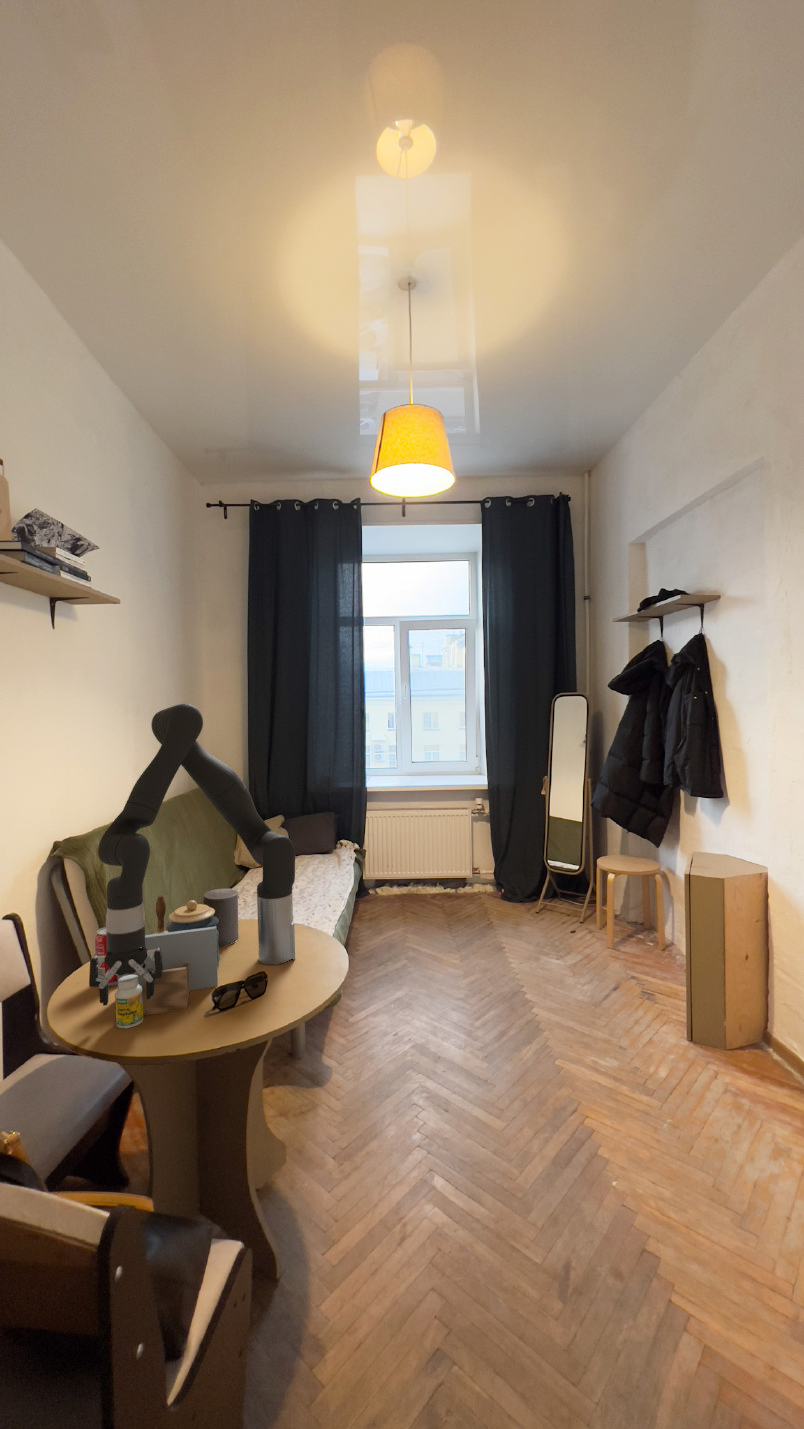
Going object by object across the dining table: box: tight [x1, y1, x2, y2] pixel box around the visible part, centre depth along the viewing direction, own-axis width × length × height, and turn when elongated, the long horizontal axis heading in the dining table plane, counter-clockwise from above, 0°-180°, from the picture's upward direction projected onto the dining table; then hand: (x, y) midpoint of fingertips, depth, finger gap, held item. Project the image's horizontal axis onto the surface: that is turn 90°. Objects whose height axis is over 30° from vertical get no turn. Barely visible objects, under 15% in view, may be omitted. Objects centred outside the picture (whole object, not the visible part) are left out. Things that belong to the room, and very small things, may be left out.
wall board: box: [117, 927, 219, 991], centre depth 143 cm, size 22×2×14 cm, turn 107°
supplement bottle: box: [114, 975, 145, 1030], centre depth 130 cm, size 5×5×10 cm
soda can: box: [94, 926, 118, 988], centre depth 150 cm, size 7×7×13 cm
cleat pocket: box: [143, 964, 190, 1016], centre depth 138 cm, size 9×9×9 cm
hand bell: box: [154, 894, 168, 934], centre depth 166 cm, size 8×8×16 cm
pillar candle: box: [202, 888, 239, 948], centre depth 174 cm, size 10×10×15 cm
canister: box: [164, 899, 221, 968], centre depth 156 cm, size 13×13×18 cm
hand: (127, 1000), depth 130 cm, fingers open, 8 cm apart
